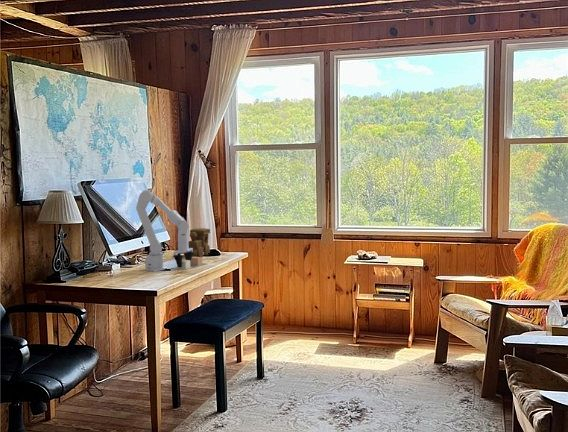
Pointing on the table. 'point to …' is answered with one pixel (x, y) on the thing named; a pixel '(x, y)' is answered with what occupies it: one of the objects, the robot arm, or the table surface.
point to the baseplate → (193, 263)
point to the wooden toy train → (199, 241)
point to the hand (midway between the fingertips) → (183, 266)
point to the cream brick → (185, 264)
